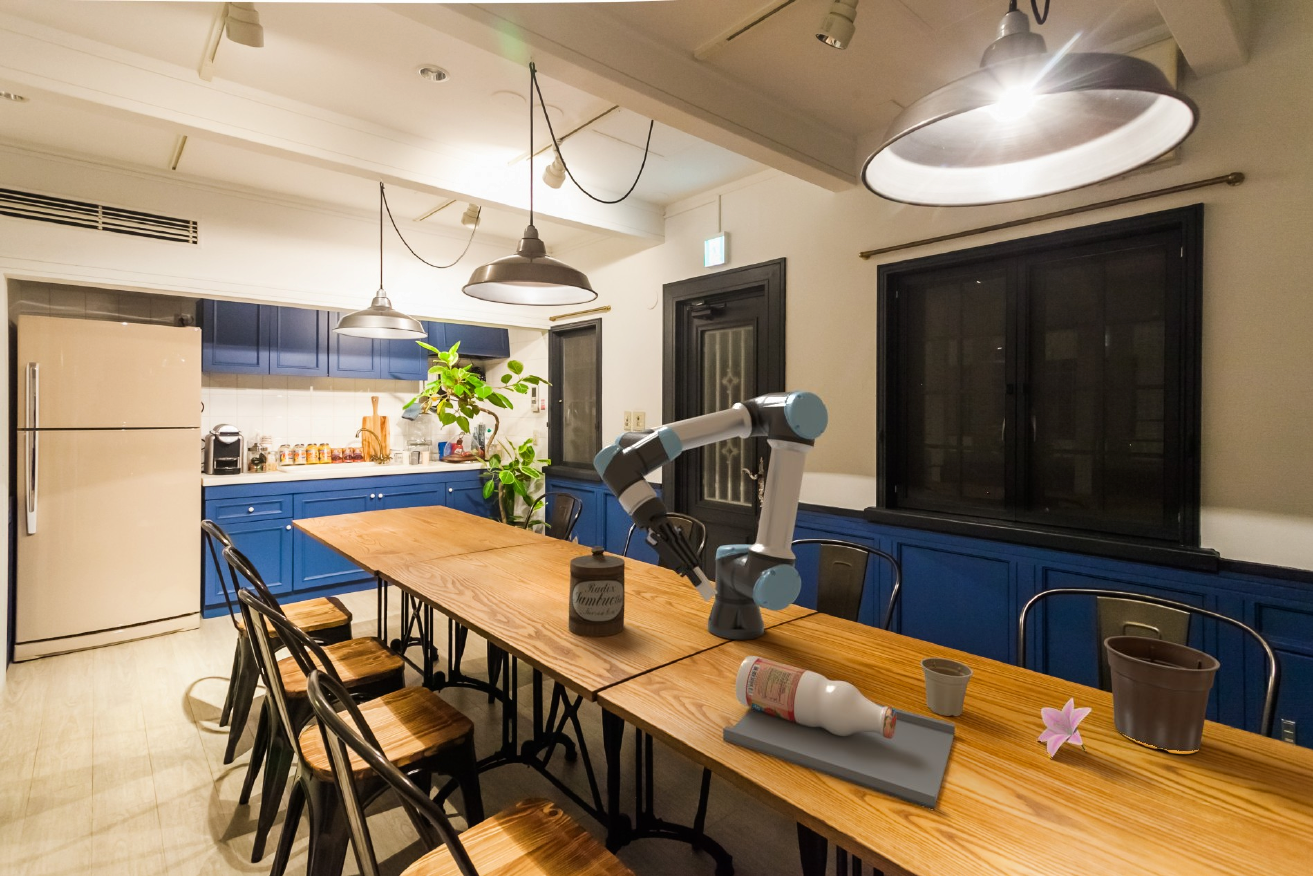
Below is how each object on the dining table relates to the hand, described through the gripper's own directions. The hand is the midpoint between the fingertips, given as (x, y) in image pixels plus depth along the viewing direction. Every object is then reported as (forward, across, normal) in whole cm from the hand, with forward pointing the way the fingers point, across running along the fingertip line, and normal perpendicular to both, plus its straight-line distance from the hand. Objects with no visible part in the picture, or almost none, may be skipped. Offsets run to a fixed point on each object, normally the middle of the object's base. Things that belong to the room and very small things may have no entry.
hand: (711, 597), depth 122 cm
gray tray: (+33, +1, +4) cm, 34 cm away
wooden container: (-16, -21, -46) cm, 52 cm away
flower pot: (+44, -22, +15) cm, 51 cm away
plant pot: (+68, -32, +39) cm, 84 cm away
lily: (+57, -17, +28) cm, 66 cm away
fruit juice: (+16, -1, -6) cm, 17 cm away
